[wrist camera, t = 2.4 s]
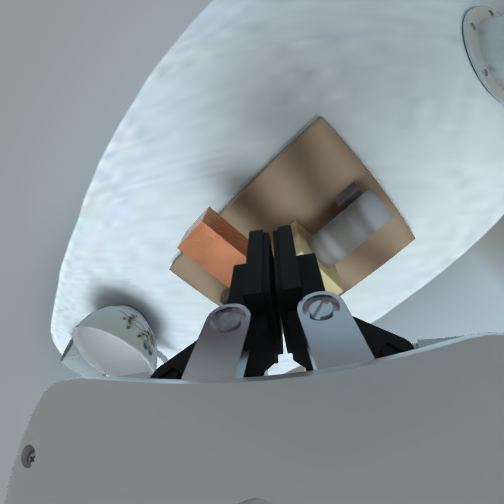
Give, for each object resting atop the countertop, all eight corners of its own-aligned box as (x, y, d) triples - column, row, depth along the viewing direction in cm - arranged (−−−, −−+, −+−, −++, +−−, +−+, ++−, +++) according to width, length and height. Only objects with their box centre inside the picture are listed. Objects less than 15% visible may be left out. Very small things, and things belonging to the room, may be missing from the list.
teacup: (86, 313, 38) (64, 349, 31) (110, 270, 32) (81, 311, 25) (159, 362, 42) (147, 400, 36) (199, 332, 37) (187, 379, 30)
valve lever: (323, 301, 21) (327, 321, 19) (297, 319, 22) (298, 338, 21) (210, 205, 18) (202, 219, 16) (185, 232, 19) (176, 248, 17)
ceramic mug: (105, 360, 45) (91, 391, 38) (72, 335, 42) (55, 365, 35) (127, 344, 41) (112, 379, 34) (90, 314, 38) (69, 348, 31)
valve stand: (319, 116, 21) (344, 126, 14) (410, 231, 27) (445, 277, 19) (173, 262, 31) (148, 313, 24) (270, 332, 36) (269, 385, 29)
